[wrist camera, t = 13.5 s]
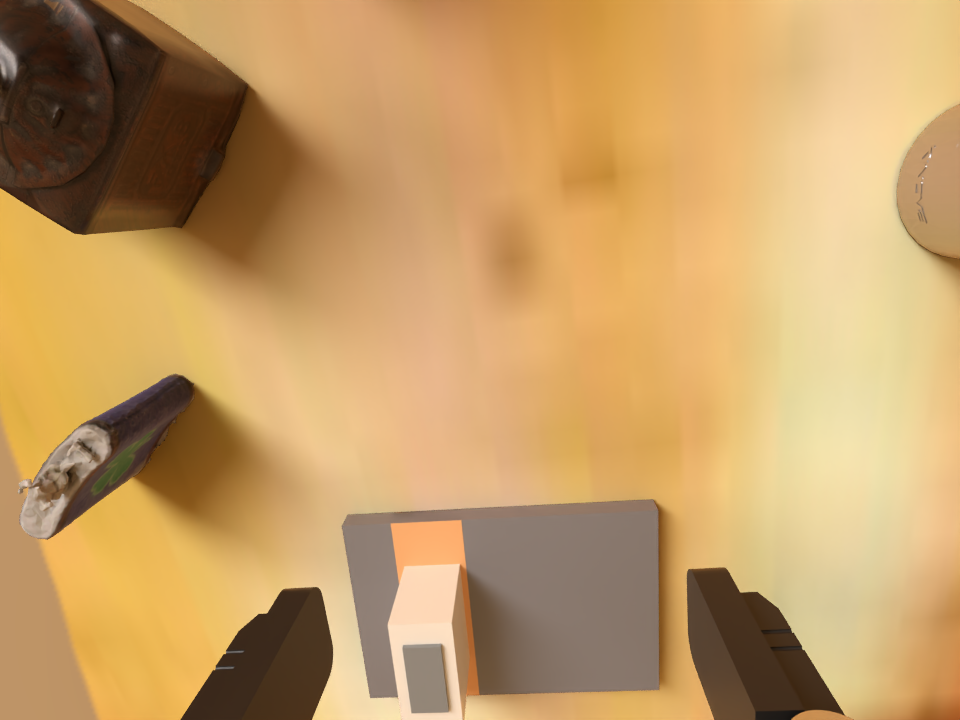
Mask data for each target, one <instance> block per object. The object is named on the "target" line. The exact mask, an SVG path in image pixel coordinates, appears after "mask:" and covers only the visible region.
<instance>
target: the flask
mask: <svg viewBox="0 0 960 720" xmlns="http://www.w3.org/2000/svg"><path fill="white" fill-rule="evenodd" d="M193 385H194V383H191V382H190V381H189V380H188V379H186V378H185V377H184V376H182V375H178V374H173V375H169V376H167V377H166V378H164V379H162V380H161V381H159V382H158V383H156V384H155V385H153V386H151V387H150V388H148V389H146V390H144V391H142V392H141V393H139V394H137V395H136V396H134V397H132V398H130V399H129V400H127V401H125V402H123V403H121V404H119V405H117V406H116V407H114V408H112V409H110V410H108V411H106V412H105V413H103V414H101V415H99V416H97V417H95V418H93V419H92V420H89V421H87V422H85V423H83V424H81V425H80V426H79V427H78V428H77V429H75V430H74V431H73V432H72V434H70V435H69V436H68V437H67V438H66V439H65V440H64V441H63V442H62V443H61V444H60V445H59V446H58V447H56V449H55V450H54V451H53V452H52V453H51V454H50V456H49V457H48V459H47V460H46V462H44V463H43V465H42V467H41V469H40V470H39V472H38V474H37V475H36V477H35V479H34V481H33V483H32V482H31V480H30V479H26V480H23V481H22V482H20V483H19V487H20V489H19V490H18V493H19V494H21V493H23V489H25V488H27V487H29V489H28V495H27V497H26V499H25V501H24V504H23V506H22V511H21V514H20V519H19V521H20V525H21V526H22V528H23V530H24V531H25V532H26V533H27V534H29V535H30V536H32V537H35V538H37V539H47V540H48V539H49V538H51V537H53V536H54V535H56V534H57V533H59V532H60V531H61V530H62V529H64V528H65V527H66V526H67V525H69V524H70V523H72V522H73V521H74V520H75V519H77V518H78V517H79V516H81V515H82V514H83V513H84V512H86V511H87V510H88V509H89V508H91V507H92V506H93V505H95V504H96V503H97V502H99V501H100V500H102V499H103V498H104V497H106V496H107V495H108V494H110V493H111V492H112V491H114V490H115V489H117V488H118V487H119V486H121V485H122V484H124V483H125V482H127V481H128V480H129V479H130V478H131V477H134V476H135V475H137V474H138V473H139V472H140V471H141V470H142V468H144V467H145V465H146V464H147V463H149V461H150V460H151V459H149V457H150V456H151V454H152V453H153V451H154V450H155V448H157V446H160V445H161V443H162V442H163V441H165V437H166V436H167V433H168V432H167V431H168V427H169V425H171V424H172V423H176V418H177V416H178V414H179V413H181V412H183V411H184V410H185V409H186V407H188V406H189V404H190V403H191V401H192V400H193V399H194V388H193Z"/></svg>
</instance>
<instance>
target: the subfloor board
mask: <svg viewBox="0 0 960 720" xmlns="http://www.w3.org/2000/svg"><path fill="white" fill-rule="evenodd" d="M342 529H343V535H344V541H345V547H346V554H347V560H348V566H349V572H350V578H351V584H352V590H353V596H354V602H355V608H356V614H357V620H358V627H359V633H360V639H361V645H362V651H363V657H364V663H365V669H366V675H367V681H368V687H369V694H370V698H384V697H398V692H397V685H396V679H395V672H394V665H393V659H392V652H391V645H390V638H389V632H388V622H389V618H390V615H391V611H392V608H393V604H394V601H395V598H396V594H397V591H398V587H399V584H400V580H401V577H402V573H403V570H404V566H424V565H447V564H460V570H461V579H462V589H463V598H464V608H465V617H466V626H467V636H468V645H469V654H470V660H469V671H468V683H467V694H466V695H493V694H529V693H565V692H601V691H637V690H659V564H658V509H657V507H656V505H655V503H654V500H633V501H613V502H593V503H573V504H554V505H534V506H514V507H494V508H474V509H454V510H434V511H414V512H395V513H375V514H355V515H347V517H346V519H345V521H344V523H343V525H342Z"/></svg>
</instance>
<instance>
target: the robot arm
mask: <svg viewBox="0 0 960 720" xmlns="http://www.w3.org/2000/svg"><path fill="white" fill-rule="evenodd" d="M897 204H898V208H899V212H900V216H901V219H902V221H903V223H904V225H905V227H906V229H907V231H908V232H909V234H910V235H911V236H912V237H913V238H914V239H915V240H916V241H917V242H918V243H919V244H920V245H922V246H923V247H925V248H926V249H928V250H929V251H931V252H934V253H937V254H939V255H942V256H945V257H952V258H959V259H960V104H959V105H957V106H955V107H953V108H951V109H949V110H947V111H946V112H944V113H943V114H942V115H940V116H939V117H938V118H936V119H935V120H934V121H932V122H931V123H930V124H929V125H928V126H927V128H926V129H925V130H924V131H923V132H922V133H921V134H920V135H919V136H918V138H917V139H916V141H915V142H914V144H913V145H912V147H911V148H910V150H909V151H908V153H907V156H906V158H905V160H904V163H903V165H902V168H901V171H900V176H899V181H898V185H897ZM687 606H688V636H689V644H690V649H691V654H692V658H693V662H694V665H695V668H696V670H697V673H698V676H699V679H700V681H701V684H702V687H703V689H704V692H705V695H706V698H707V700H708V703H709V706H710V709H711V711H712V714H713V717H714V719H715V720H853V719H851V718H849V717H847V716H845V715H844V713H843V711H842V710H841V708H840V707H839V705H838V703H837V702H836V700H835V699H834V697H833V695H832V694H831V692H830V691H829V689H828V687H827V686H826V684H825V682H824V681H823V679H822V678H821V676H820V674H819V673H818V671H817V670H816V668H815V666H814V665H813V663H812V662H811V660H810V658H809V657H808V655H807V654H806V652H805V650H802V646H801V644H800V642H799V641H798V639H797V638H796V636H795V634H794V633H792V631H791V628H790V626H789V625H788V623H787V621H786V620H785V618H784V617H783V615H782V613H781V612H780V610H779V609H778V608H777V607H776V606H774V605H773V604H772V603H771V602H769V601H768V600H767V599H766V598H764V597H763V596H762V595H760V594H759V593H758V592H745V593H740V592H739V590H738V588H737V586H736V584H735V582H734V581H733V579H732V577H731V575H730V573H729V572H728V570H727V569H726V568H705V569H689V570H688V572H687ZM332 662H333V645H332V640H331V635H330V630H329V625H328V621H327V616H326V611H325V606H324V601H323V597H322V593H321V591H320V589H319V588H317V587H311V588H291V589H284V590H282V591H281V592H280V594H279V595H278V597H277V599H276V600H275V602H274V604H273V605H272V607H271V608H270V610H269V612H268V613H267V614H258V615H257V616H256V617H255V618H254V619H253V620H251V621H250V622H249V623H248V624H247V625H246V626H244V627H243V628H242V629H241V630H240V631H239V632H238V633H237V635H236V636H235V638H234V639H233V641H232V642H231V644H230V645H229V647H228V648H227V650H226V654H224V655H223V656H222V658H221V659H220V661H219V662H218V664H217V665H216V669H215V670H213V671H212V673H211V674H210V676H209V677H208V679H207V680H206V682H205V683H204V685H203V686H202V688H201V689H200V691H199V692H198V694H197V696H196V697H195V699H194V700H193V702H192V703H191V705H190V706H189V708H188V709H187V711H186V712H185V714H184V715H183V717H182V718H181V720H312V718H313V715H314V713H315V711H316V708H317V706H318V703H319V701H320V698H321V696H322V693H323V691H324V688H325V686H326V684H327V681H328V679H329V676H330V673H331V669H332Z"/></svg>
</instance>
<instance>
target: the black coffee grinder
mask: <svg viewBox="0 0 960 720" xmlns="http://www.w3.org/2000/svg"><path fill="white" fill-rule="evenodd" d="M247 86H248V84H247V83H245V82H244V81H243V80H242V79H240V78H239V77H238V76H237V75H235V74H234V73H233V72H231V71H230V70H229V69H228V68H226V67H225V66H224V65H223V64H222V63H220V62H219V61H218V60H217V59H216V58H214V57H213V56H211V55H210V54H208V53H207V52H206V51H204V50H203V49H201V48H200V47H199V46H197V45H196V44H194V43H193V42H191V41H190V40H189V39H187V38H186V37H184V36H183V35H181V34H180V33H179V32H177V31H176V30H174V29H173V28H171V27H170V26H168V25H167V24H165V23H164V22H162V21H161V20H159V19H158V18H156V17H155V16H153V15H152V14H150V13H149V12H147V11H146V10H144V9H143V8H141V7H139V6H137V5H135V4H133V3H131V2H129V1H128V0H0V188H1V189H3V190H4V191H6V192H7V193H9V194H11V195H12V196H14V197H15V198H17V199H18V200H20V201H22V202H23V203H25V204H26V205H28V206H29V207H31V208H33V209H34V210H36V211H38V212H39V213H41V214H43V215H44V216H46V217H47V218H49V219H51V220H52V221H54V222H56V223H57V224H59V225H61V226H62V227H64V228H66V229H67V230H69V231H71V232H73V233H74V234H82V235H87V234H96V233H109V232H121V231H134V230H144V229H155V228H165V227H179V228H182V227H183V225H184V223H185V222H186V220H187V218H188V217H189V215H190V213H191V211H192V210H193V208H194V206H195V205H196V203H197V201H198V200H199V198H200V196H201V195H202V193H203V191H204V190H205V188H206V186H207V185H208V183H209V182H210V181H213V180H214V178H215V176H216V175H217V173H218V171H219V169H220V167H221V165H222V162H223V160H224V157H225V148H226V145H227V142H228V140H229V138H230V136H231V133H232V131H233V129H234V127H235V125H236V122H237V120H238V118H239V115H240V112H241V108H242V104H243V101H244V97H245V94H246V90H247Z"/></svg>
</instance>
